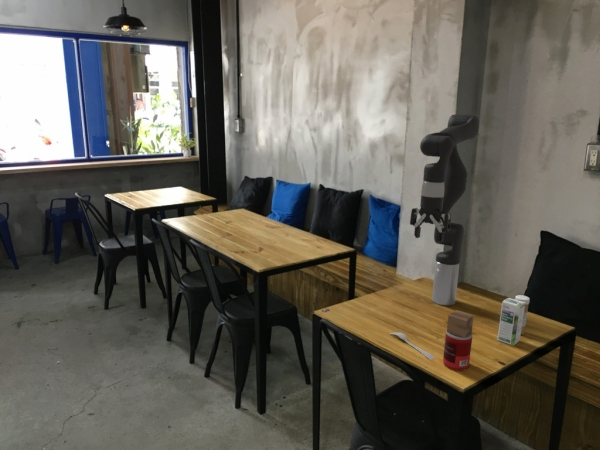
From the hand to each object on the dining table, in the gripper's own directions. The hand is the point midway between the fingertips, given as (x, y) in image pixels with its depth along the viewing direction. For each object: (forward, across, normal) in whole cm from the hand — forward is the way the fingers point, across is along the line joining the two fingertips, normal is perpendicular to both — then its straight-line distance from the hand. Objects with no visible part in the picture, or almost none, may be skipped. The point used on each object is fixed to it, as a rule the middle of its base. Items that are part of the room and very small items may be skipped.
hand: (428, 239), depth 167 cm
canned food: (+32, -22, +18) cm, 43 cm away
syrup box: (+32, -28, -10) cm, 44 cm away
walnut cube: (+21, -22, +18) cm, 35 cm away
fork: (+33, -6, +17) cm, 37 cm away
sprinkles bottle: (+32, -28, -19) cm, 47 cm away
